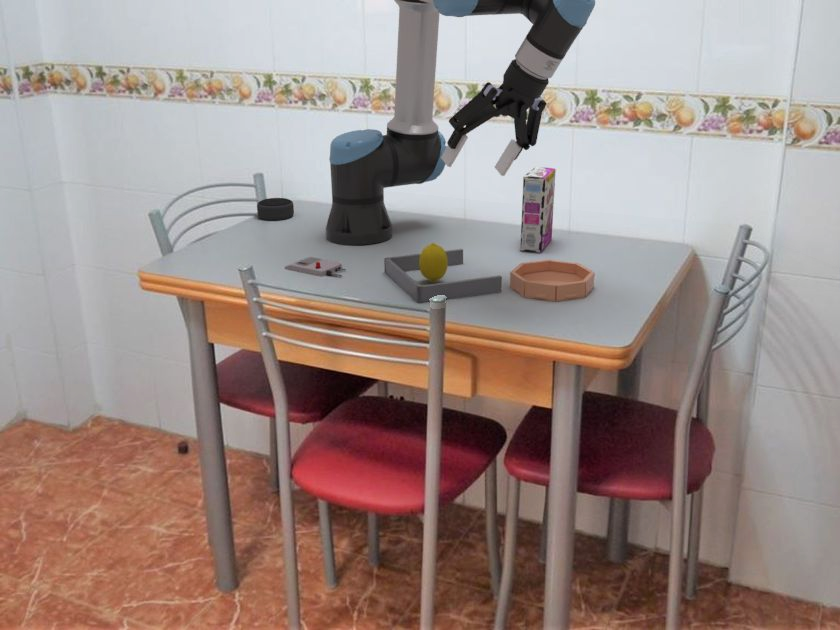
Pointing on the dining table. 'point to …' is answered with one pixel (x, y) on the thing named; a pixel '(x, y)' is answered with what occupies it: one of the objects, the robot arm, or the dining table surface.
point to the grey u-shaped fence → (449, 289)
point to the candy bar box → (537, 209)
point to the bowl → (552, 280)
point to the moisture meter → (316, 266)
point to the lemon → (433, 262)
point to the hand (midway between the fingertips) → (473, 167)
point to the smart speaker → (275, 209)
